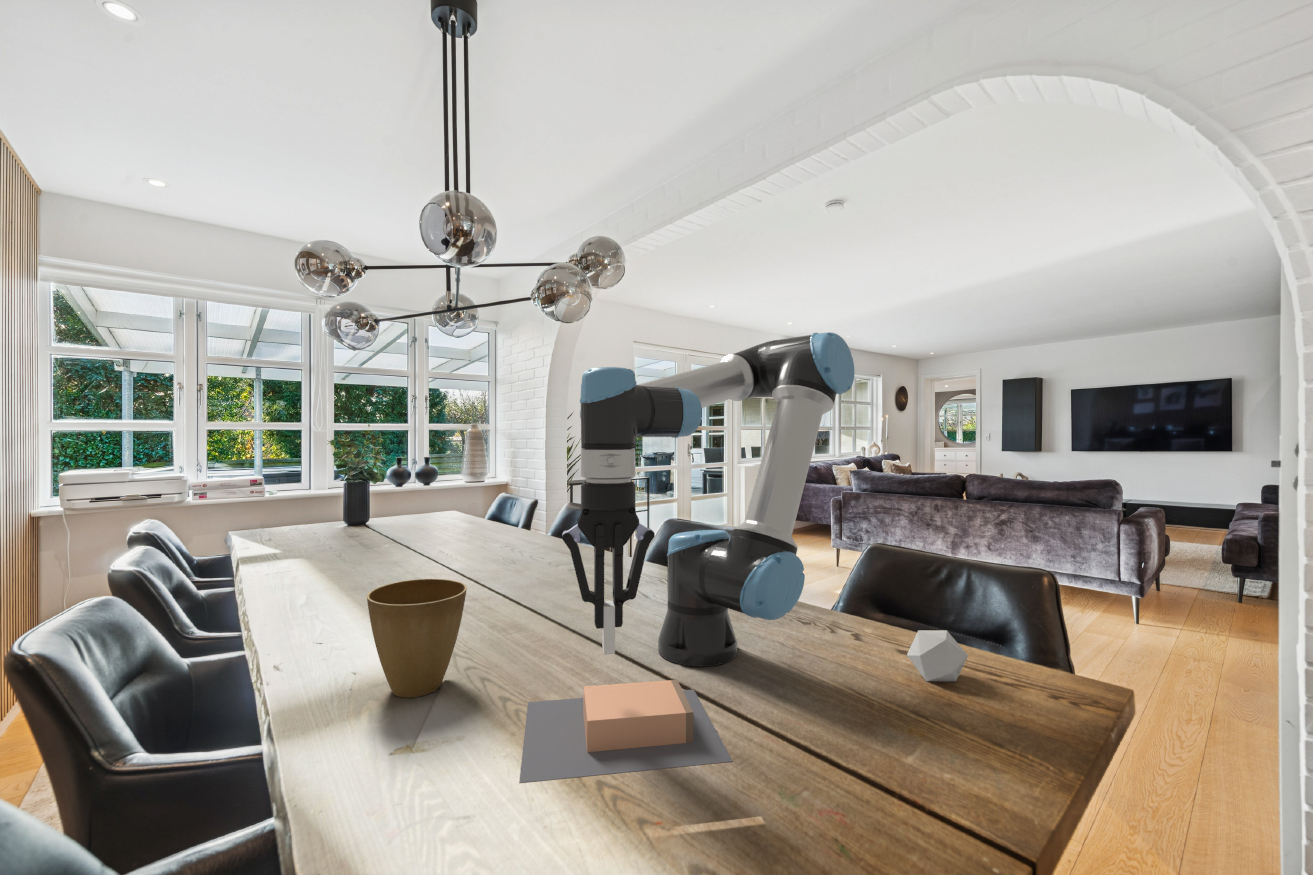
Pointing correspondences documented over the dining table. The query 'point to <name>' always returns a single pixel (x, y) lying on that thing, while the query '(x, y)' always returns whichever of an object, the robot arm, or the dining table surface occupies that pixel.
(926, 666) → the die
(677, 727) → the pink rectangular block
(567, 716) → the mat
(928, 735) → the dining table surface
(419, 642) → the plant pot
